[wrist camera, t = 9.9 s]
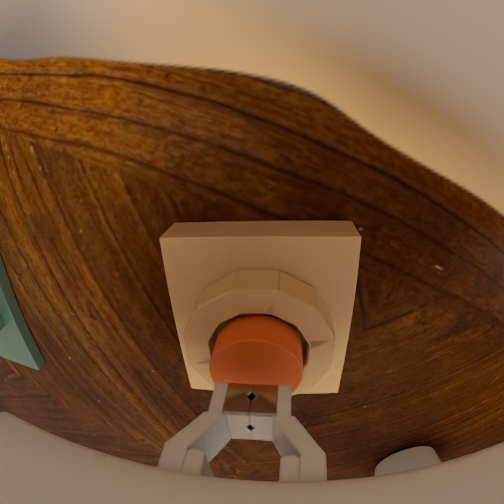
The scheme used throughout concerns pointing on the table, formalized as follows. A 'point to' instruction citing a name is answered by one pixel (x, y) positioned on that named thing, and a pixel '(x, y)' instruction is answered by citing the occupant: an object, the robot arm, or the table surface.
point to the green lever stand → (15, 328)
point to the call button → (264, 288)
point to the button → (257, 353)
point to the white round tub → (407, 460)
